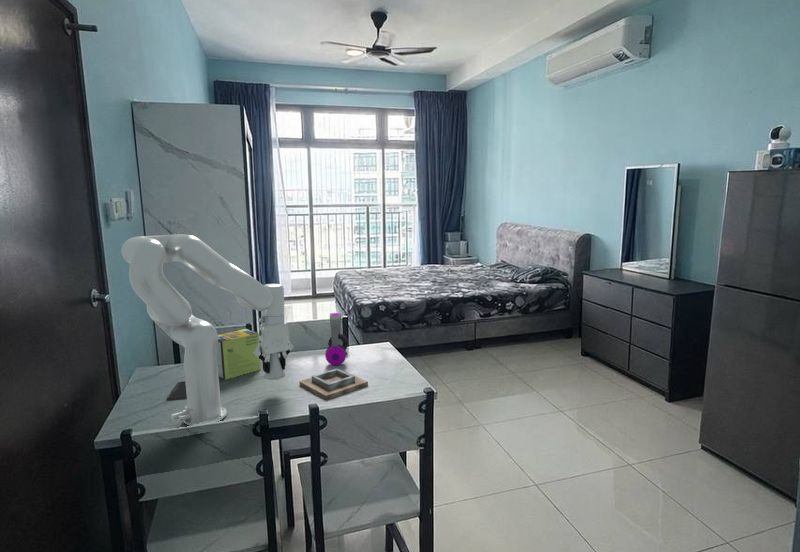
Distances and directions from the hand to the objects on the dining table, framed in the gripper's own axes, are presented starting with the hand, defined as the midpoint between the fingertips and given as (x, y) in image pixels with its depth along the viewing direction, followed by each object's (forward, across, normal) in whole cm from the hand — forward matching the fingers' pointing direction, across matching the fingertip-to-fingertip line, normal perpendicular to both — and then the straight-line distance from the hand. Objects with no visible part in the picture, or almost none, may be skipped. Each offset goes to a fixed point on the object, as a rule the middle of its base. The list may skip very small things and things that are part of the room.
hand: (274, 369), depth 161 cm
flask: (+3, 0, 0) cm, 3 cm away
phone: (+10, -23, +26) cm, 36 cm away
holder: (+8, +19, -8) cm, 22 cm away
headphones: (+7, +37, +16) cm, 41 cm away
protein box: (+9, -1, +31) cm, 32 cm away
